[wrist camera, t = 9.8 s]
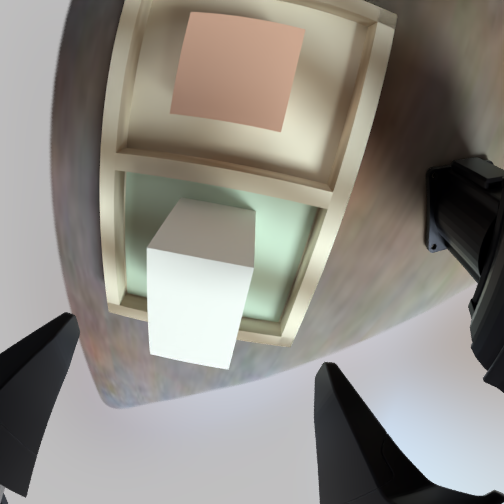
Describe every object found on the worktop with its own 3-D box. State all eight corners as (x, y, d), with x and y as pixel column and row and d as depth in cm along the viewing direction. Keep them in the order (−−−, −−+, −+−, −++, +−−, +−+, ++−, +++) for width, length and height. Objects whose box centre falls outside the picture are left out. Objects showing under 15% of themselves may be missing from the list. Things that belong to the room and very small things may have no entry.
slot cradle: (288, 324, 23) (290, 347, 21) (120, 291, 22) (108, 311, 20) (380, 23, 12) (397, 15, 10) (149, -17, 11) (134, -30, 8)
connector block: (255, 211, 17) (253, 267, 12) (235, 301, 21) (228, 369, 15) (181, 197, 17) (146, 247, 12) (173, 289, 20) (150, 353, 15)
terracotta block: (275, 122, 15) (280, 132, 11) (193, 108, 14) (169, 113, 10) (292, 47, 12) (305, 29, 8) (209, 33, 12) (190, 11, 8)
